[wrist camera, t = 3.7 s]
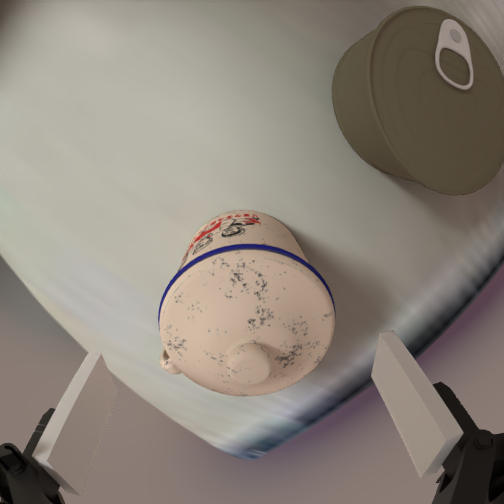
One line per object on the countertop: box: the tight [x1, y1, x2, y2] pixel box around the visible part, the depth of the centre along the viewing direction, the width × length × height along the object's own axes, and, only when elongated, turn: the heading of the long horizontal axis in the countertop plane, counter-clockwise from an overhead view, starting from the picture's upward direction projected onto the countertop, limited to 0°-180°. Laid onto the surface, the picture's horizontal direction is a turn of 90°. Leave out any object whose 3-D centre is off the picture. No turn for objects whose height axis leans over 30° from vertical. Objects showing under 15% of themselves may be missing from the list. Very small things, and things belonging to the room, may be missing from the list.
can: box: [332, 6, 504, 195], centre depth 16 cm, size 12×12×7 cm
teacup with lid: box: [158, 210, 335, 396], centre depth 18 cm, size 12×9×12 cm
